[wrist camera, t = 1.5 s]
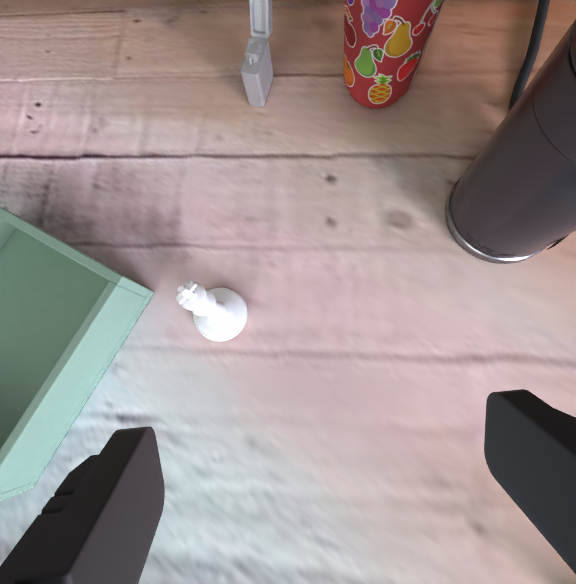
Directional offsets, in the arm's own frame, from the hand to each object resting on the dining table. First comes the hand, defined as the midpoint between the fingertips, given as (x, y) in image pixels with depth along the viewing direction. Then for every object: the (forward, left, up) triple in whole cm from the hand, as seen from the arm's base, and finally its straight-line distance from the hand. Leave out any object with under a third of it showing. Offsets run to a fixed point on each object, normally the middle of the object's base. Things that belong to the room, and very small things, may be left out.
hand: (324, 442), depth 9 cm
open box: (+9, -26, -23) cm, 36 cm away
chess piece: (-2, -11, -24) cm, 26 cm away
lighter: (-26, -20, -24) cm, 40 cm away
